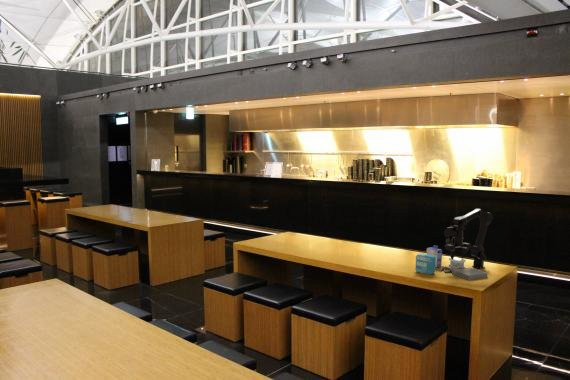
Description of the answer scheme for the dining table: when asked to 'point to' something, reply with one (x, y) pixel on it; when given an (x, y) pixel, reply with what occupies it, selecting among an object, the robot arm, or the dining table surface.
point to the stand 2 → (469, 273)
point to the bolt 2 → (448, 271)
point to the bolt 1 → (442, 268)
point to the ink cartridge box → (436, 253)
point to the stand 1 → (448, 268)
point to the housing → (457, 263)
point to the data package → (425, 263)
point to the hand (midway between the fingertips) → (457, 258)
